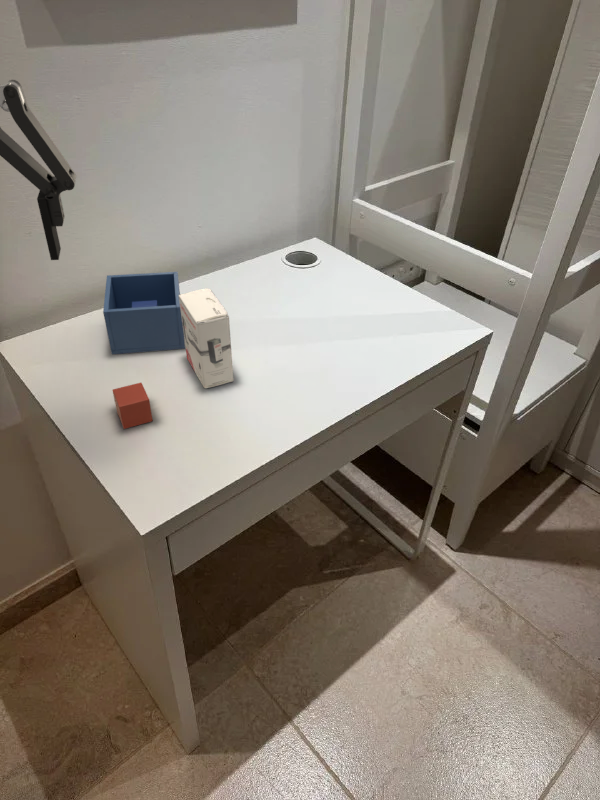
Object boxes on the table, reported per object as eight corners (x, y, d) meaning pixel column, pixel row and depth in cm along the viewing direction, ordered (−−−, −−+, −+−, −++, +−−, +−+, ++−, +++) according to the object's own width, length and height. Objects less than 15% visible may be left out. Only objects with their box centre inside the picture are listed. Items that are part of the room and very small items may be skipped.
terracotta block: (123, 429, 78) (119, 407, 75) (116, 411, 81) (112, 389, 78) (152, 421, 80) (149, 399, 77) (145, 403, 82) (141, 382, 80)
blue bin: (111, 354, 91) (103, 312, 86) (114, 316, 99) (106, 275, 94) (185, 348, 93) (180, 306, 88) (181, 311, 101) (177, 271, 96)
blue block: (135, 335, 94) (131, 314, 91) (135, 322, 97) (131, 301, 94) (160, 333, 94) (157, 312, 92) (159, 320, 97) (157, 300, 95)
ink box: (184, 359, 91) (177, 292, 83) (214, 351, 93) (210, 285, 85) (203, 391, 85) (197, 322, 77) (234, 382, 87) (232, 314, 79)
